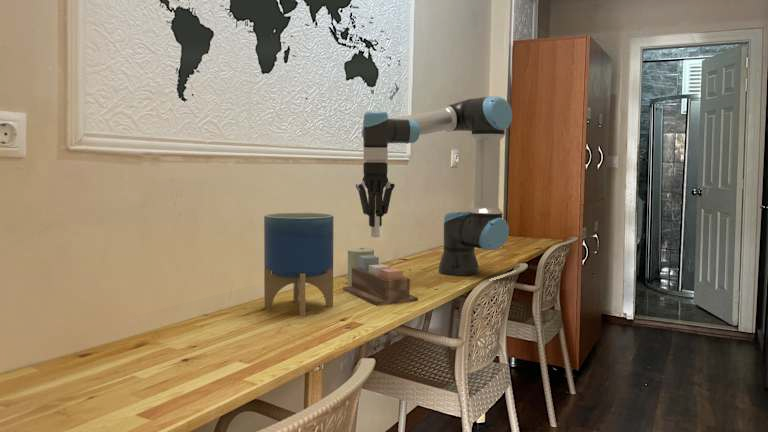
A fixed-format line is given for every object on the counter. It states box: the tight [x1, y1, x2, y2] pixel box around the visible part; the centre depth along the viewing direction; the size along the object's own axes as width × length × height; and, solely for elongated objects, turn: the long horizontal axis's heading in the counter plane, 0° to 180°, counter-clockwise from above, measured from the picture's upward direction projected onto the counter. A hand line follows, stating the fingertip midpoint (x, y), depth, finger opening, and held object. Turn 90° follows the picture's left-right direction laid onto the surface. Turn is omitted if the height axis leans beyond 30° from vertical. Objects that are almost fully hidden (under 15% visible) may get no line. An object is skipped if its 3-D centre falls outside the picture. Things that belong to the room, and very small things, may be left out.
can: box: [346, 247, 375, 286], centre depth 210 cm, size 9×9×12 cm
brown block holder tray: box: [342, 267, 419, 306], centre depth 191 cm, size 14×24×7 cm, turn 27°
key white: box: [369, 263, 391, 275], centre depth 191 cm, size 5×5×6 cm
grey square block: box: [358, 255, 380, 271], centre depth 198 cm, size 5×5×6 cm
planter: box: [263, 211, 334, 317], centre depth 173 cm, size 19×19×26 cm
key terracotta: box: [380, 267, 404, 280], centre depth 184 cm, size 5×5×6 cm
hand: (375, 236), depth 194 cm, fingers closed
